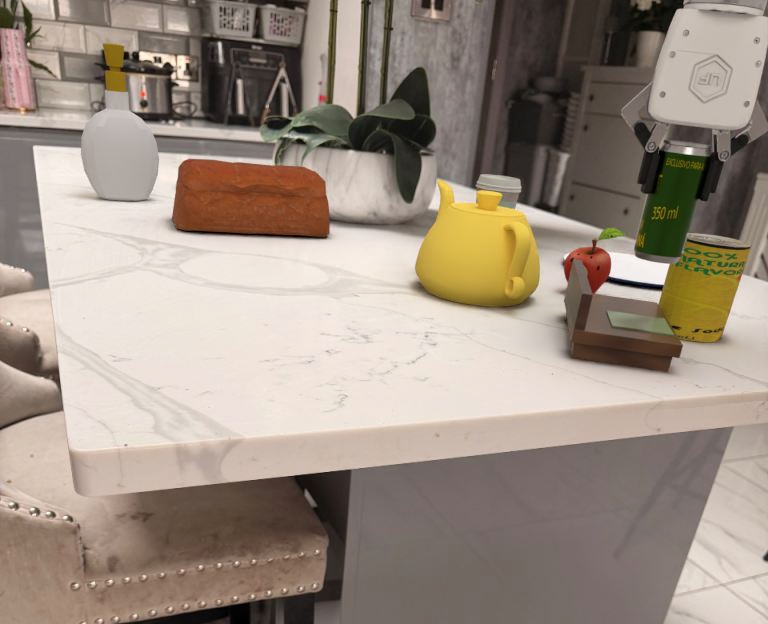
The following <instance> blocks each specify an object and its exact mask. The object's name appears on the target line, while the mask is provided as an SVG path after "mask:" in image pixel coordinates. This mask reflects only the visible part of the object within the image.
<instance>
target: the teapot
mask: <svg viewBox="0 0 768 624" xmlns="http://www.w3.org/2000/svg"><path fill="white" fill-rule="evenodd" d="M436 184H437V186H438V189H439V196H440V199H439V206H438V212H437V216H436V218H435V222H434V223H433V224H432V226H431V228H430V229H429V231H428V232H427V234H426V235H425V237H424V239H423V240H422V243H421V245H420V248H419V250H418V252H417V256H416V260H415V264H414V265H415V266H414V270H415V274H416V276H417V278H418V280H419V282H420V283H421V285H422V286H423V288H424V290H425V291H427V293H429V294H431V295H433V296H435V297H437V298H440V299H444V300H446V301H447V300H448V301H451V302H455V303H459V304H466V305H471V306H481V307H511V306H516V305H519V304H522V303H523V302H524V301H525V300H527V299H528V298H529V297H530V296H532V294H533V293H534V292H535V291H536V290H537V288H538V287H539V284H540V278H541V264H540V263H541V262H540V256H539V255H540V254H539V249H538V246H537V242H536V239H535V236H534V233H533V230H532V227H531V225H530V222H529V221H528V218H527V216H526V214H525V213H524V212H523V211H521V210H518V209H516V208H515V209H511V208H506V207H501V206H498V204H499V202H500V200H501V198H502V194H501V193H498V192H493V191H483V190H480V191H477V190H476V195H477V201H478V203H476V202H455V195H454V192H453V189H452V187H451V185H450V184H449V183H448V182H446V181H445V180H442V179H437V180H436Z"/></svg>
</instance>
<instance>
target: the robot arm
mask: <svg viewBox="0 0 768 624" xmlns="http://www.w3.org/2000/svg"><path fill="white" fill-rule="evenodd" d="M767 4H768V0H683V3H682V5H683V8H677V9H676V10H675V13H674V15H673V17H672V20H671V22H670V24H669V27H668V30H667V32H666V34H665V35H666V36H665V38H664V41H663V43H662V46H661V48H660V52H659V56H658V59H657V61H656V65H655V68H654V72H653V75H652V79H651V82H650V83H648V84H647V86H645V87H644V88H643V89H642V90H641V91H640V92H639V93H638V94H636V95H635V96H634V97H633V98H632V99H631V100H630V101H628V102H627V104H625V106H623V107H622V108H621V111H620V115H621V117H622V118H623V120H624V121H625V122H626V124H627V125H628V126H629V128H630V129H631V130H632V132H633V134H634V136H635V137H636V139H637V140H638V142H639V144H640V146H641V147H642V150H644V151H643V155H642V159H641V160H642V161H641V164H640V168H639V172H638V175H637V181H636V184H638V185H640V192H641V193H642V194H645V195H648V194H649V193H651V190H652V187H653V183H654V179H655V175H656V171H657V167H658V163H659V159H660V155H659V154H658V152H659V149H660V144H661V142H662V141H663V140H664V137H665V135H666V134H667V132H668V130H669V129H670V127H671V125H680V126H686V127H696V128H697V127H698V128H704V129H712V130H711V136H712V137H711V138H712V139H711V140H712V152H710V154H711V158H710V161H709V165H708V168H707V172H706V176H705V179H704V183H703V186H702V190H701V193H700V197H699V200H700V201H701V202H708V200H709V197H710V194H715V193H716V191H717V188H718V186H719V185H718V184H719V181H720V178H721V174H722V171H723V168H724V164H725V162H726V161H728V160H729V159H730V158H731V157H732V156H734V155H735V154H736V153H738V152H739V151H740V150H742V149H744V148H745V147H746V146H747V145H748V144H750V143H752V142H753V141H755V140H757V139H758V138H759V137H761V136H763V135H764V134H766V133H768V120H767V119H766V115H765V114H764V110H763V109H762V107H761V105H760V102H759V100H758V98H757V96H758V92H759V88H760V85H761V80H762V76H763V72H764V66H765V62H766V57H767V51H768V16H764V14H765V10H766V7H767ZM643 107H645V109H644V111H645V115H646V116H647V117H648V118H650V119H651V120H653V121H654V123H653V125H652V127H651V128H650V130H649V128H648V126H647V124H646V123H645V122H644V121H643V120H642V118H641V116H640V111H641V109H642V108H643ZM746 126H747V128H746V129H744V130H742V131H741V132H740V133H737V134H736V135H734V136H733V137H731V131H736V130H740V129H742V128H745V127H746Z"/></svg>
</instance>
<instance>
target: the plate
mask: <svg viewBox="0 0 768 624" xmlns="http://www.w3.org/2000/svg"><path fill="white" fill-rule="evenodd" d="M606 252H607V253H609V255H610V258H611V271H610V275H609V277H608V278H607V280H610V281H614V282H619V283H625V284H630V285H635V286H644V287H652V288H663V286H664V283H665V279H666V275H667V272H668V268H669V265H670V264H666V263H657V262H651V261H647V260H643V259H640V258H637V257H636V256H635V254H630V253H622V252H615V251H614V252H613V251H606ZM570 253H571V252H567V253H565V254H564V255H563V256H562V260H563V261H564V262H565V259H566V258H567V256H568V255H569V254H570Z"/></svg>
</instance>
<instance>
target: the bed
mask: <svg viewBox="0 0 768 624" xmlns="http://www.w3.org/2000/svg"><path fill="white" fill-rule="evenodd" d="M566 285H567V286H566V290H565V295H564V299H563V302H564V308H565V315H564V320H565V323H567V327H568V332H569V338H570V339H569V340H570V342H571V347H570V358H572V359H580V360H585V361H593V362H599V363H605V364H612V365H620V366H627V367H631V368H638V369H646V370H652V371H653V370H655V371H660V372H665V373H669V371H670V367H671V363H672V361H673V358H676V359H680V357H681V354H682V350H683V347H684V344H683V342H682V341H681V339H680V338H678V336H677V334H676V333H675V331H674V330H673V328H672V326H671V325H670V323H669V321H668V320H667V318H666V317H665V315H664V313H663V312H662V310H661V308H660V307H659V305H658V304H659V303H658V302H656V301H651V300H650V301H649V300H643V299H642V300H641V299H636V298H635V299H634V298H629V297H621V296H613V295H606V294H599V293H595V294H593V293H592V291H591V288H590V284H589V281H588V278H587V275H586V272H585V269H584V266H583V262H582V260H575V259H573V262H572V266H571V271H570V276H569V280H568V283H567V284H566Z"/></svg>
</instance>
